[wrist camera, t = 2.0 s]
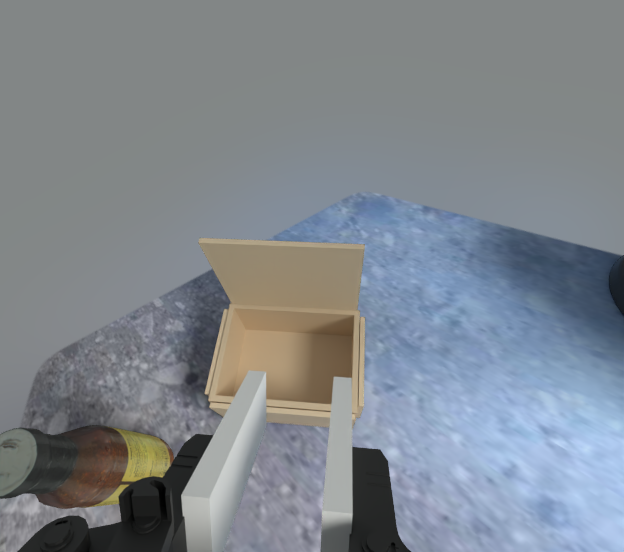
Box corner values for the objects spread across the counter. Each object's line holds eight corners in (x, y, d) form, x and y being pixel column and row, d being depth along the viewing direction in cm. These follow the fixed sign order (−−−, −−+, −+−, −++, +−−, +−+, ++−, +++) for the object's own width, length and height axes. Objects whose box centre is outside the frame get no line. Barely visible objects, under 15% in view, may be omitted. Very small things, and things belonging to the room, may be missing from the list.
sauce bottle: (147, 427, 43) (21, 383, 25) (188, 456, 41) (82, 430, 24) (106, 483, 40) (-66, 476, 23) (148, 517, 38) (-5, 537, 21)
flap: (357, 305, 41) (364, 243, 31) (357, 310, 41) (364, 249, 30) (233, 299, 42) (199, 237, 32) (231, 303, 42) (198, 242, 32)
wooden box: (361, 334, 47) (365, 310, 41) (359, 430, 41) (363, 420, 35) (238, 326, 48) (225, 302, 42) (219, 418, 43) (200, 406, 37)
